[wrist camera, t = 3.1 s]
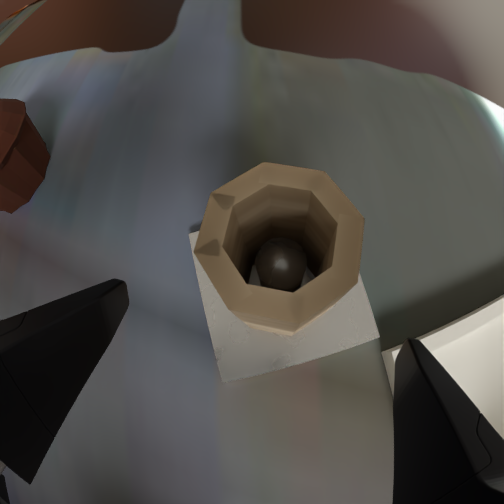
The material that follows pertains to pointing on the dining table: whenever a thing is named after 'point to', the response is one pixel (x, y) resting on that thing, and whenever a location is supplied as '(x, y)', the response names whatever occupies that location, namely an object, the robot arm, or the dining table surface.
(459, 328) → the plastic tray
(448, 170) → the dining table surface
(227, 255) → the wooden pen holder
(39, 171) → the muffin
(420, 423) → the robot arm
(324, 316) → the white square pedestal
